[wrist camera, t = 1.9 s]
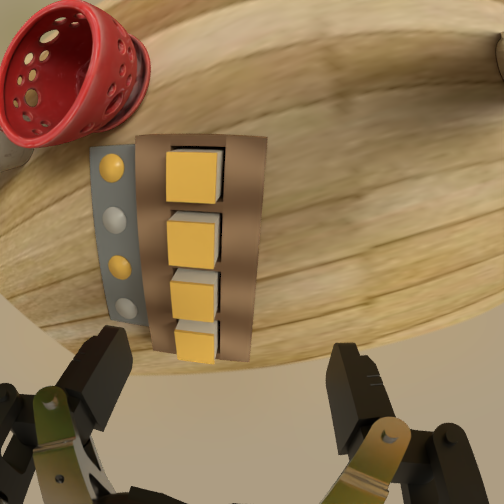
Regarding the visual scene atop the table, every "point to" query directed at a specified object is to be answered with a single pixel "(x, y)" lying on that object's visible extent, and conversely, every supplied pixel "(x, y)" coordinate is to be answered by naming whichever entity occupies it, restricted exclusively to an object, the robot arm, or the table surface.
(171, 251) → the button
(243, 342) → the board
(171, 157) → the button
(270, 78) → the table surface
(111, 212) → the card
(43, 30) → the plant pot
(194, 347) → the button
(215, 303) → the button
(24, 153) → the thermos bottle
